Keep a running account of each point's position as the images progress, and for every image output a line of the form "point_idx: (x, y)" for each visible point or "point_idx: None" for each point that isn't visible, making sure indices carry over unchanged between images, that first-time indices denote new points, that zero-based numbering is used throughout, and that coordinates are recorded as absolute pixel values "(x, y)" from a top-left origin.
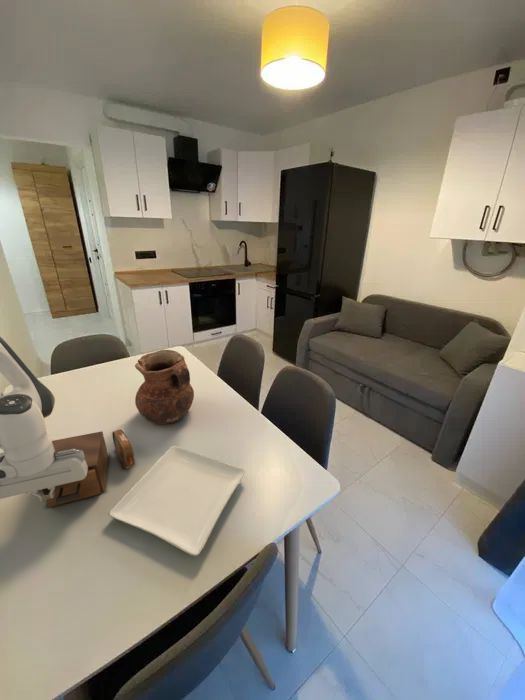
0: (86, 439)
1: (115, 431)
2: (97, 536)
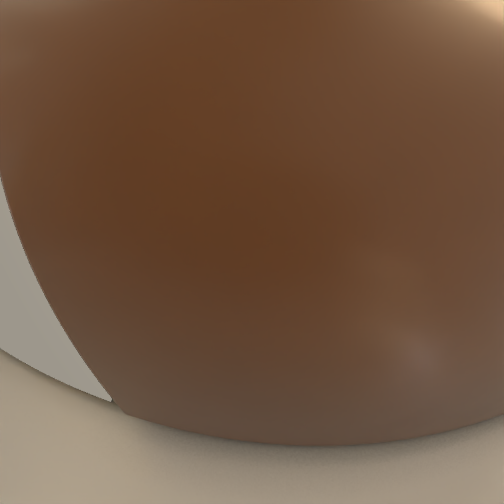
0: None
1: None
2: None
